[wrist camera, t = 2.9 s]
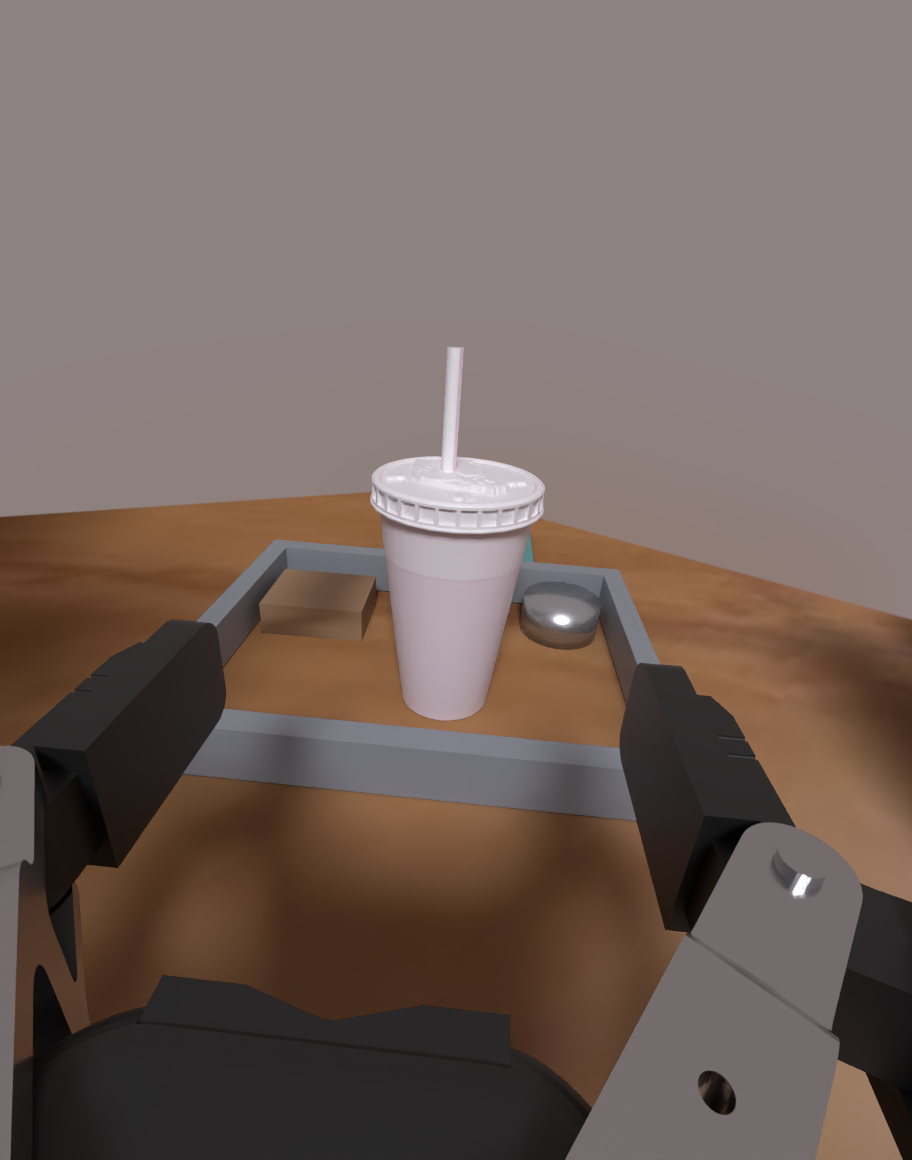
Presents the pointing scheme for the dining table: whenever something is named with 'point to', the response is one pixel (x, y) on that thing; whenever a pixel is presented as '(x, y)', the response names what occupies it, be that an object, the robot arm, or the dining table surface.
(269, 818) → the dining table surface
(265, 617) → the walnut tile
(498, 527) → the smoothie
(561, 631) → the silver round puck
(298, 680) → the dining table surface
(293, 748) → the grey rectangular frame
